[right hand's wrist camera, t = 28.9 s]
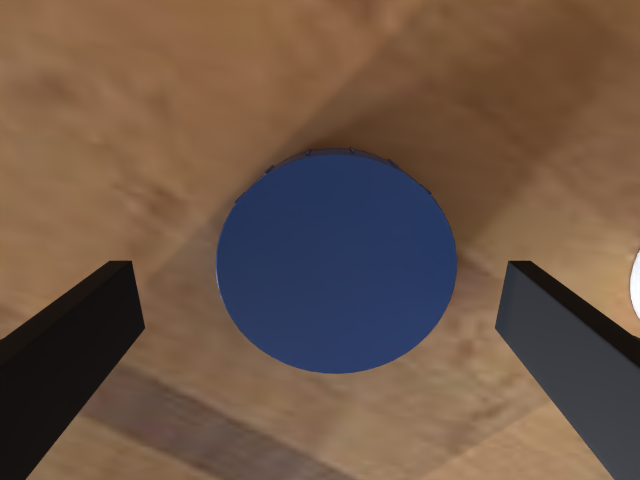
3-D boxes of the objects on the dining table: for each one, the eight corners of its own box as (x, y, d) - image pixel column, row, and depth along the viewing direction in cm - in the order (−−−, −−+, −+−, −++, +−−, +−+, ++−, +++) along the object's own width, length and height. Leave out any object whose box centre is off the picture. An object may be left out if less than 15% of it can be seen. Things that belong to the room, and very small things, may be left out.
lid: (485, 211, 16) (509, 226, 14) (372, 373, 19) (377, 405, 17) (284, 102, 14) (277, 101, 12) (198, 296, 18) (181, 321, 16)
